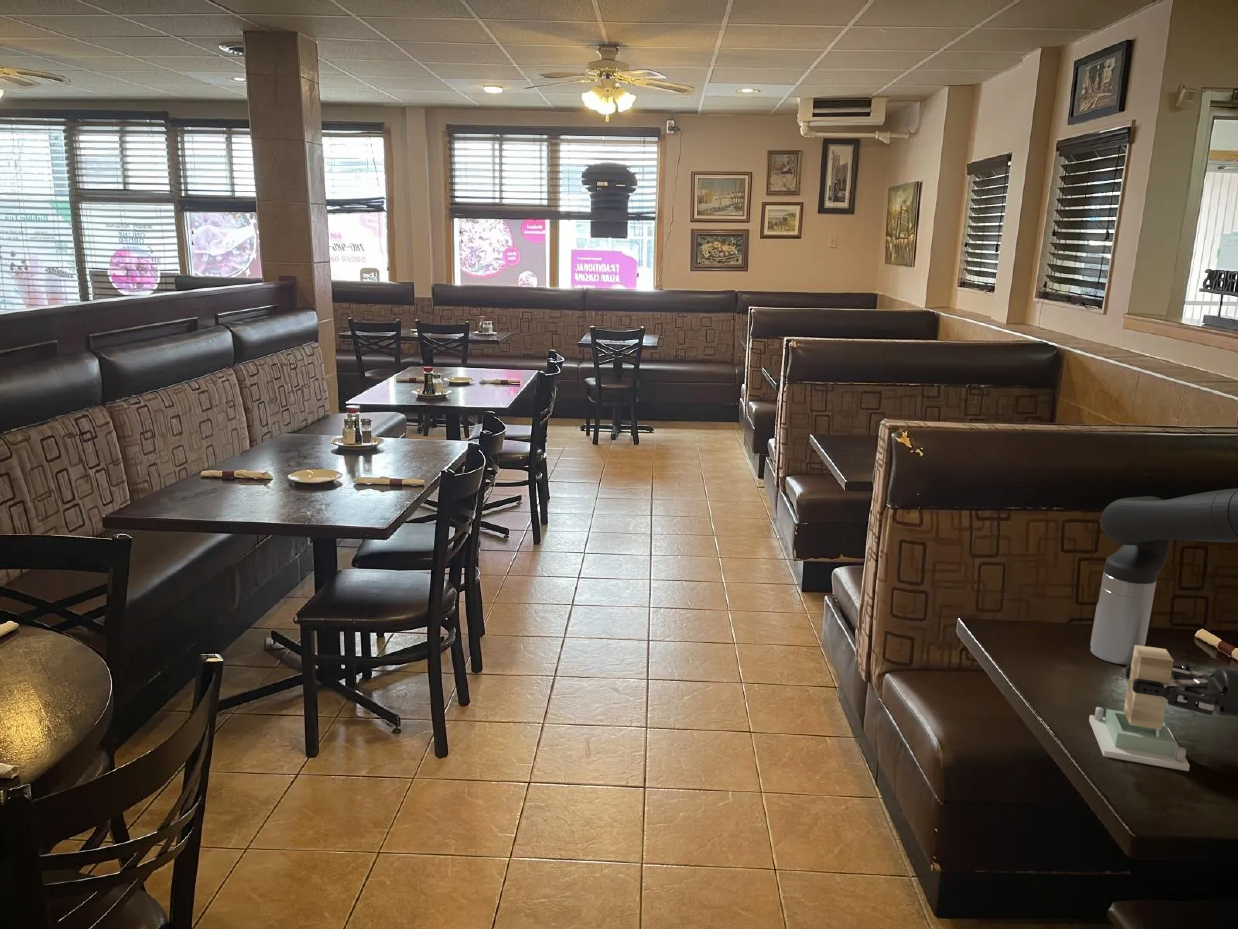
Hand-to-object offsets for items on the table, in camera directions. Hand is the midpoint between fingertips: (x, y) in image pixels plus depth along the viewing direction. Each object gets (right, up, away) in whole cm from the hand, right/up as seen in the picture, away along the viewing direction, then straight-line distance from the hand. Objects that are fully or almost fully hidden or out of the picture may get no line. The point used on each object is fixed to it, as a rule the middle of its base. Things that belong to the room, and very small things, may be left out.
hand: (1130, 678), depth 143 cm
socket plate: (+2, -11, +2) cm, 12 cm away
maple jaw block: (+2, -7, +1) cm, 8 cm away
